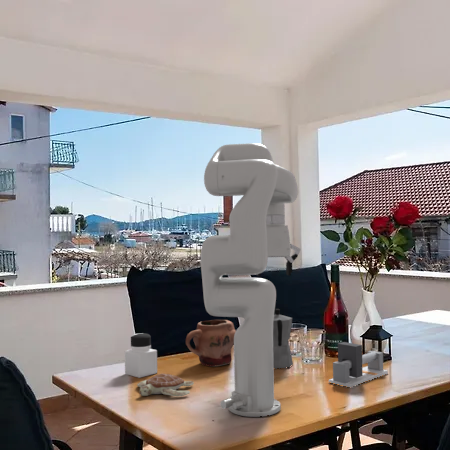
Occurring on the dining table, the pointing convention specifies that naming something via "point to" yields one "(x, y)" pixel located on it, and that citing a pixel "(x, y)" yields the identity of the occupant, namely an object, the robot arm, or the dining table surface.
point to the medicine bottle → (140, 357)
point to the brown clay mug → (213, 342)
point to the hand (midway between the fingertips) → (273, 275)
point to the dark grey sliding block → (351, 357)
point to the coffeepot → (281, 341)
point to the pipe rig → (369, 371)
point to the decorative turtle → (163, 385)
